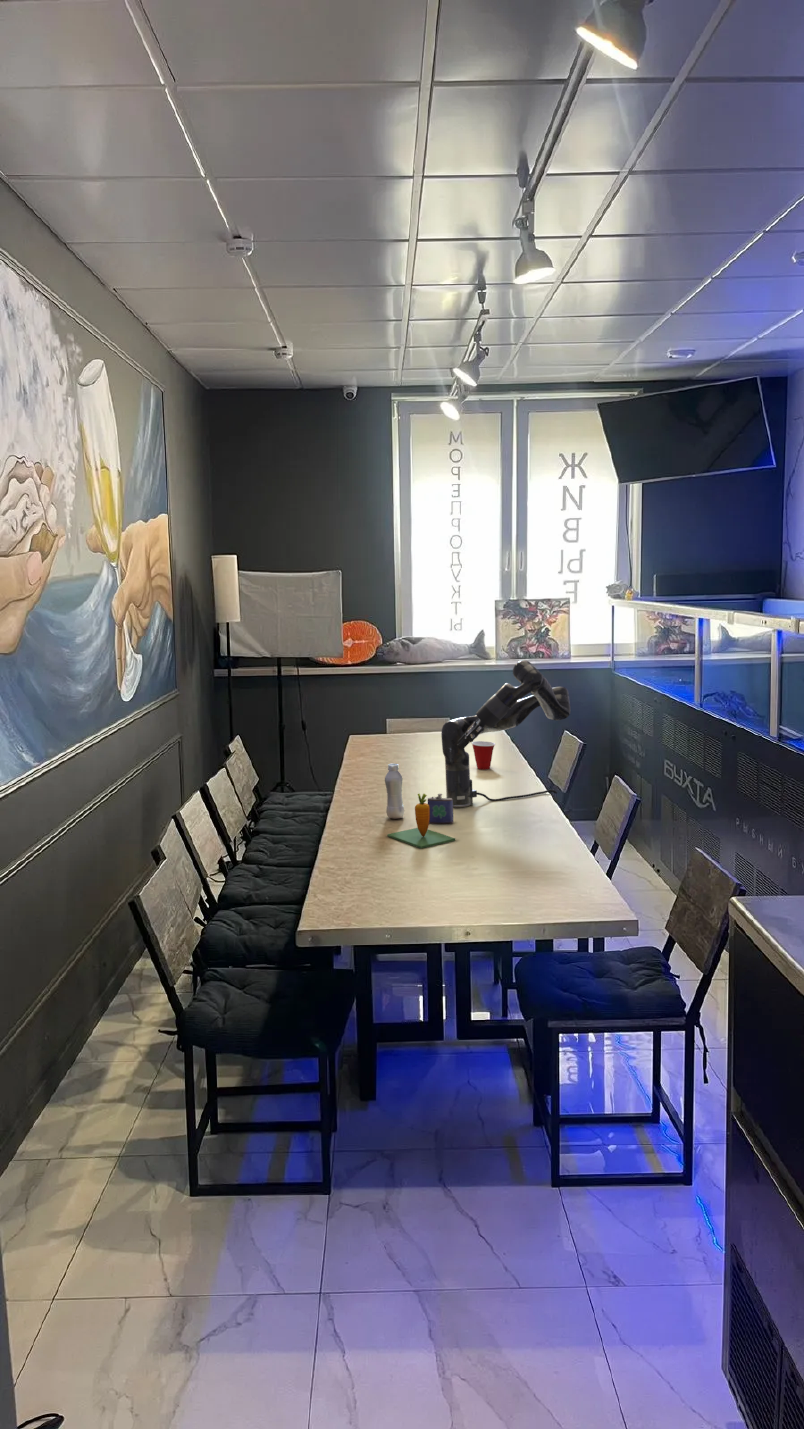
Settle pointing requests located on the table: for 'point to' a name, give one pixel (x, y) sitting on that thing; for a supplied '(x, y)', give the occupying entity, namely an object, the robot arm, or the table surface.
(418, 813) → the carrot
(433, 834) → the green mat
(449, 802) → the flask
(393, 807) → the plastic bottle
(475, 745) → the plastic cup
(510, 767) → the table surface
